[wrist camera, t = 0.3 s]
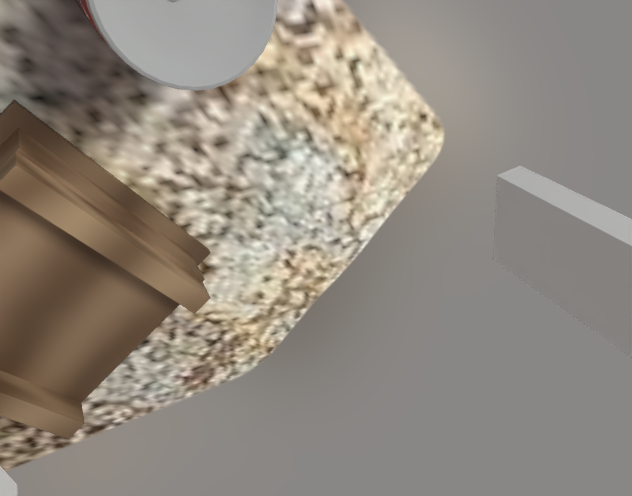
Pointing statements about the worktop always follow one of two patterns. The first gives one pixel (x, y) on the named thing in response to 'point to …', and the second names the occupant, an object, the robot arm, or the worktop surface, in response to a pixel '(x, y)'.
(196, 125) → the worktop surface
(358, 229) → the worktop surface
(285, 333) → the worktop surface
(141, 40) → the canned food
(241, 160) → the worktop surface
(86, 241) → the brown square tray
